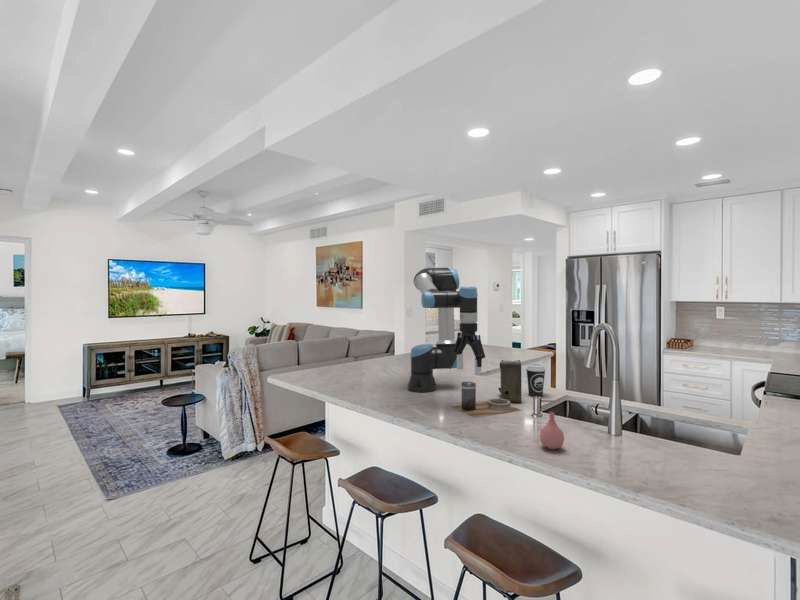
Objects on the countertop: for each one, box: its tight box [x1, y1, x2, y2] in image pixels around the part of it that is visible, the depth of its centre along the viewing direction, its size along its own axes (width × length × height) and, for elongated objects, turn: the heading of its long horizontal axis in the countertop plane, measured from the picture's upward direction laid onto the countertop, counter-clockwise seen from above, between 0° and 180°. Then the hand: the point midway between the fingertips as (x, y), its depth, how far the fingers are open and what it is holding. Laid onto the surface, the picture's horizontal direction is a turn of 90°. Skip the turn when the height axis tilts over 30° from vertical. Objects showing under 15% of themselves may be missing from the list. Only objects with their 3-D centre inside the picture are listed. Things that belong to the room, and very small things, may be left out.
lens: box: [461, 381, 477, 411], centre depth 180 cm, size 6×6×11 cm
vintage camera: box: [497, 359, 522, 404], centre depth 201 cm, size 10×15×20 cm, turn 174°
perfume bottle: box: [539, 411, 565, 451], centre depth 139 cm, size 8×8×12 cm
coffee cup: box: [525, 363, 547, 398], centre depth 206 cm, size 10×10×15 cm
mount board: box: [451, 398, 522, 419], centre depth 181 cm, size 18×24×4 cm
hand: (468, 371), depth 180 cm, fingers open, 13 cm apart
